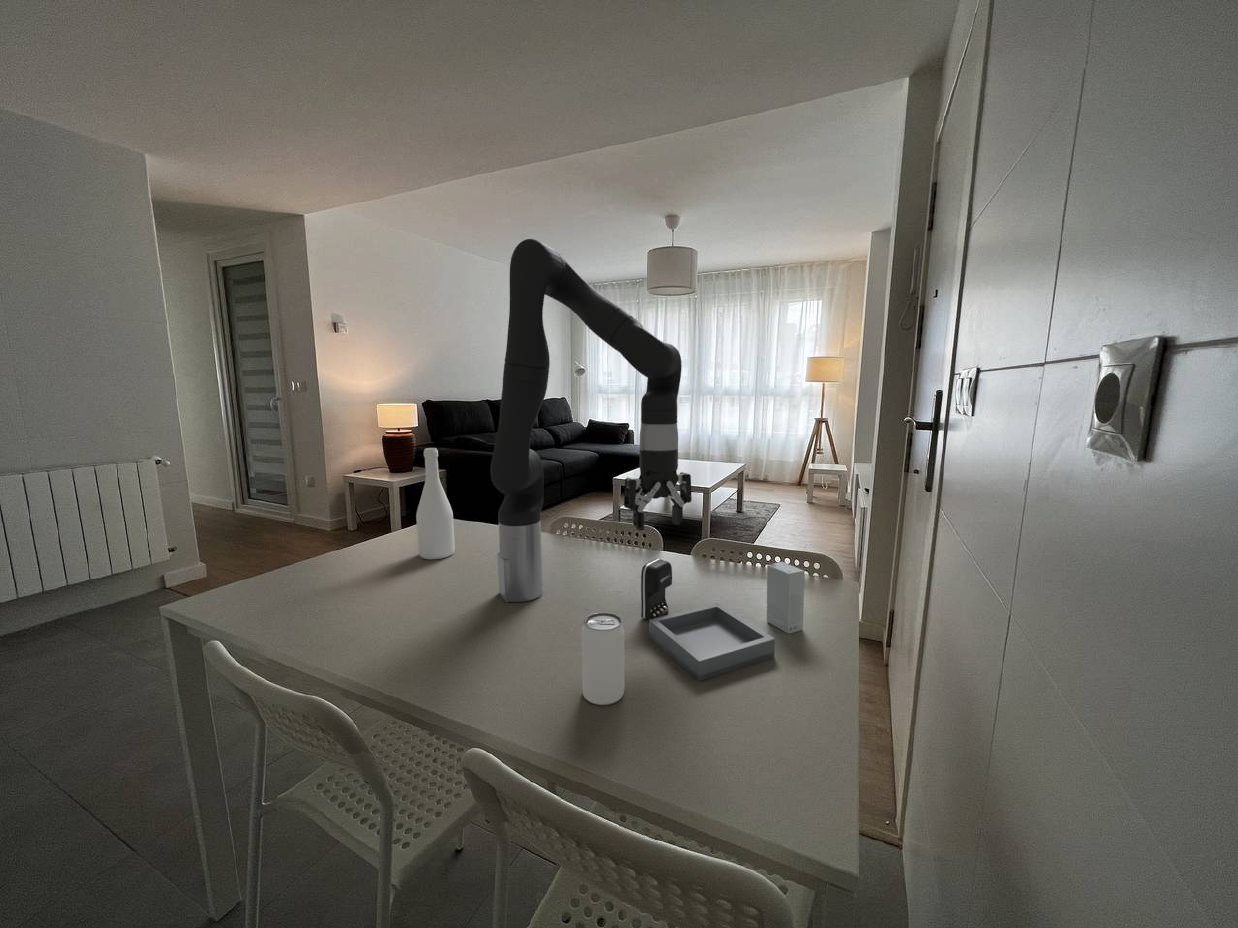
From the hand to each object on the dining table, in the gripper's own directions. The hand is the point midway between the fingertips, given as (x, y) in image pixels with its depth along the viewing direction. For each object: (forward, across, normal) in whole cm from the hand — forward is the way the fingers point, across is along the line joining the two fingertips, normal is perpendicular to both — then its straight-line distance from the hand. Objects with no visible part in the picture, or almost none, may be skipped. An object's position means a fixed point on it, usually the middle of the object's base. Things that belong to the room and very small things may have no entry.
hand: (658, 526), depth 100 cm
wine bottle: (+19, +36, -60) cm, 72 cm away
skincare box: (+19, -20, +15) cm, 31 cm away
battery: (+19, 0, 0) cm, 19 cm away
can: (+19, +21, +19) cm, 34 cm away
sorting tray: (+19, -2, +15) cm, 24 cm away
